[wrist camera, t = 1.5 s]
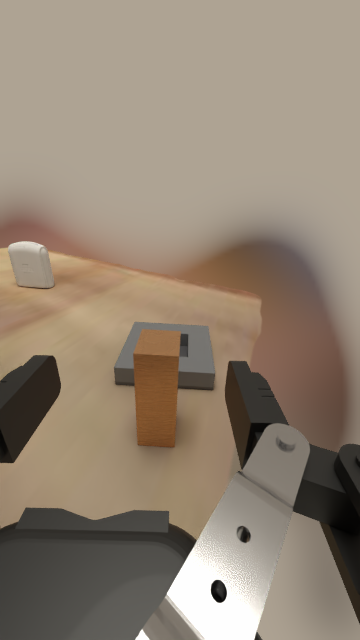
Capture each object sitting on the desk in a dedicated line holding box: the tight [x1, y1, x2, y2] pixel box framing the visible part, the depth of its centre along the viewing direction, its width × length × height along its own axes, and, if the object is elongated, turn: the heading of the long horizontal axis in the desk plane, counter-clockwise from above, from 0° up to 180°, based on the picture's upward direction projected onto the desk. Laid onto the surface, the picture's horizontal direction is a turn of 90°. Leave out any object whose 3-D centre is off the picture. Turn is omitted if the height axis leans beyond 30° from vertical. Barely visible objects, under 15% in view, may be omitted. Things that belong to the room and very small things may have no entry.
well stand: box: [114, 322, 215, 390], centre depth 40 cm, size 14×14×3 cm
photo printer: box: [8, 242, 54, 288], centre depth 67 cm, size 10×4×12 cm, turn 81°
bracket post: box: [133, 329, 181, 447], centre depth 26 cm, size 4×4×12 cm
